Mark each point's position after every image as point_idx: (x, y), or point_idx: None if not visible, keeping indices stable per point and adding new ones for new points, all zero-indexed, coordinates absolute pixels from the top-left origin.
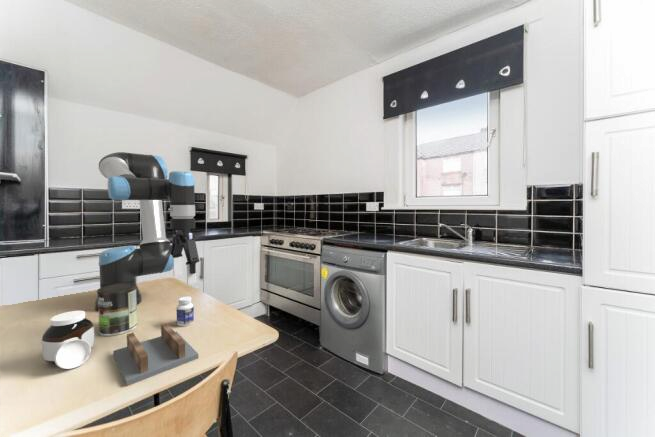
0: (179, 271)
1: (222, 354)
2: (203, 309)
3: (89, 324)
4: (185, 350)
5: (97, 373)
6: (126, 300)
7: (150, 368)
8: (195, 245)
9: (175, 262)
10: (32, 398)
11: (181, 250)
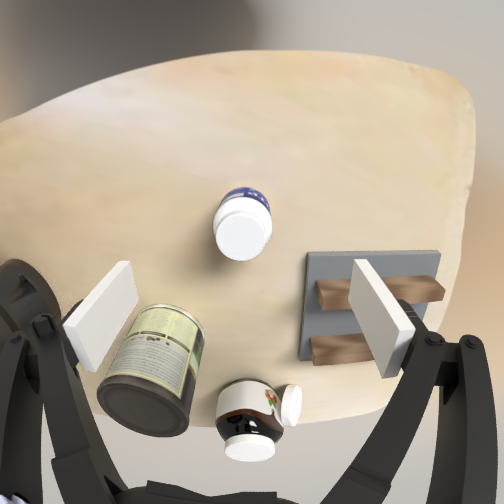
0: (124, 287)
1: (458, 211)
2: (166, 128)
3: (257, 418)
4: (412, 268)
5: (342, 370)
6: (187, 385)
7: None
8: (493, 448)
9: (103, 342)
10: (337, 409)
11: (72, 385)
